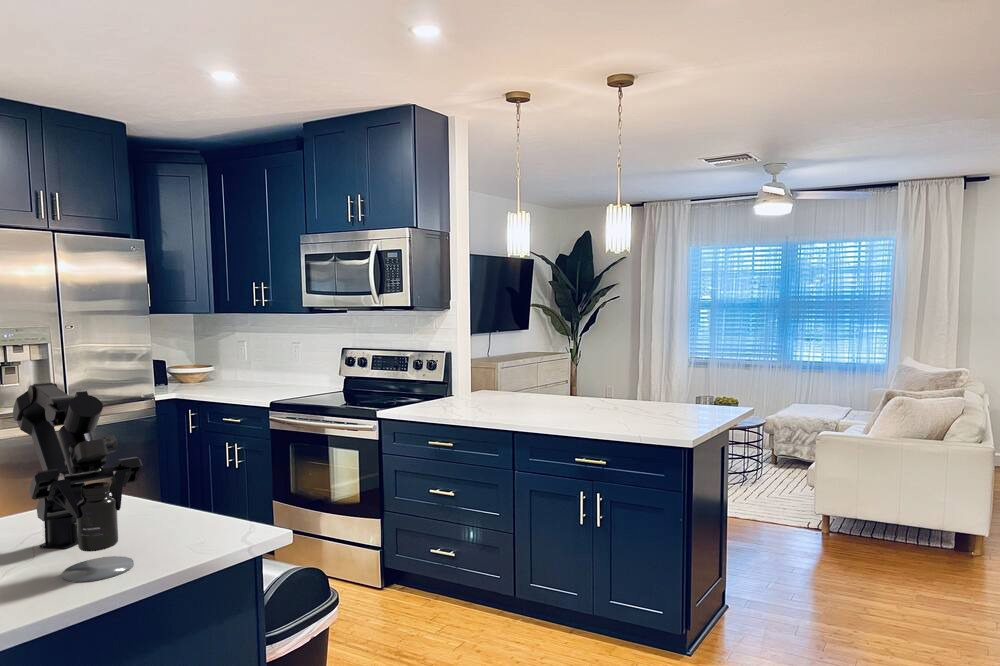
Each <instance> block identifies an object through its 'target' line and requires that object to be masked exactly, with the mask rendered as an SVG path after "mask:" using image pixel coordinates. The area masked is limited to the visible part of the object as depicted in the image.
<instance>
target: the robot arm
mask: <svg viewBox="0 0 1000 666" xmlns="http://www.w3.org/2000/svg"><path fill="white" fill-rule="evenodd" d="M12 408H13V409H12V415H13V420H14V422H16V423H17V425H18V428H19V430H20V431H21V432H24V433H25V434H27V435H29V436H30V437H31V439H32V443H33V445H34V449H35V452H36V454H37V457H38V460H39V464H40V466H41V469H42V470H41V471H36V472H35V473H33V476H32V479H31V482H30V485H29V493H30V498H31V499H32V500H35V501H36V500H38V501H37V504H36V515H37V518H38V519H40V520H41V522H44V523H43V524H44V543H41V544H39V548H42V549H43V548H45V549H46V548H48V549H49V548H50V549H51V548H52V549H68V548H71V547H72V546H75V545H76V544H77V545H78V536H77V519H78V518H79V516H80V514H79V510H78V506H77V504H78V502H79V501H81V500H82V499H83V497H81V494H82V491H81V487H82V486H84V485H86V484H85V483H89V482H94V481H100V480H101V481H102V480H105V479H110V480H111V483H110V490H111V493H110V494H111V496H112V497H114V498H115V499H116V502H117V512H118V511H120V510H121V507H122V500H123V499H122V498H123V497H122V496H123V490H124V489H123V488H125V487H126V486H127V485H128V484H131V483H134V482H136V481H138V479H139V477H140V475H141V472H142V470H143V467H144V465H143V462H142V460H141V458H139V457H138V456H132V457H126V458H125V457H124V458H119V459H118V460H117V462H116V465H115V466H113V467H105V468H104V467H103V465H104V466H105V465H106V464H107V458H106V457H107V456H109V454H112V453H115V452H116V451H117V450H118V448H119V447H118V442H117V438H116V436H115V435H114V434H111V435H105V436H104V437H103V438H100V439H95V438H94V434H93V431H95V430H96V428H97V426H98V423H99V420H100V417H101V415H102V411H103V408H104V404H103V402H102V401H101V400H100V399H99V398H97V397H96V396H94V395H89V394H88V391H87V390H86V391H85V390H83V391H76V392H75V395H74V394H73V395H69V394H68V393H66V392H65V391H64V390H62V389H61V388H59V387H58V384H57V383H54V382H41V383H32V384H31V385H29V386H28V390H27V391H25V392H23V393H22V394H20V396H18V397H17V398H16V399H15V402H14V405H13V407H12ZM55 427H60V428H59V429H58V432H57V431H56V428H55Z"/></svg>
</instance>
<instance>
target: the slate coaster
mask: <svg viewBox="0 0 1000 666" xmlns="http://www.w3.org/2000/svg"><path fill="white" fill-rule="evenodd" d="M134 562H135V561H134V559H133V558H131V557H127V556H120V555H119V556H115V555H114V556H113V555H112V556H111V555H110V556H101V557H95V558H92V559H87V560H83V561H80V562H76V563H75V564H72V565H70V566H68V567H67V568H65V569H64V570H63V571H62V574H61V575H62V576H61V578H62V577H63V578H62V579H63V580H64V579H65V581H67V580H68V581H67V582H71V581H89V582H95V581H94V580H97V581H102V580H106V578H107V579H109V578H110V577H111V578H114V577H117V576H120V575H122V574H125V573H127V572H128V571H130V570H131V569H132V568H133V567H134V564H135V563H134ZM129 569H130V570H129ZM119 574H120V575H119ZM116 575H117V576H116ZM113 576H114V577H113ZM101 579H102V580H101Z"/></svg>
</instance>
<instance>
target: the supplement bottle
mask: <svg viewBox="0 0 1000 666" xmlns="http://www.w3.org/2000/svg"><path fill="white" fill-rule="evenodd" d="M110 486H111V483H109V482H104V481H100V482H98V481H97V482H91V483H88V484H85V485H84V486H82V487H81V491H82V494H81V497H83V499H82V500H81V501H79V502H78V504H77V506H78V510H79V514H80V516H79V518H78V519H77V536H78V543H77V548H78V549H79V550H81V551H82V552H87V553H88V552H91V553H92V552H99V551H103V550H108V549H109V548H112V547H115V546H116V545H117V543H118V541H119V529H118V528H119V527H118V526H119V524H118V522H119V521H118V511H117V502H116V499H115V498H114V497H112V495H110V494H111V490H110Z"/></svg>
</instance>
